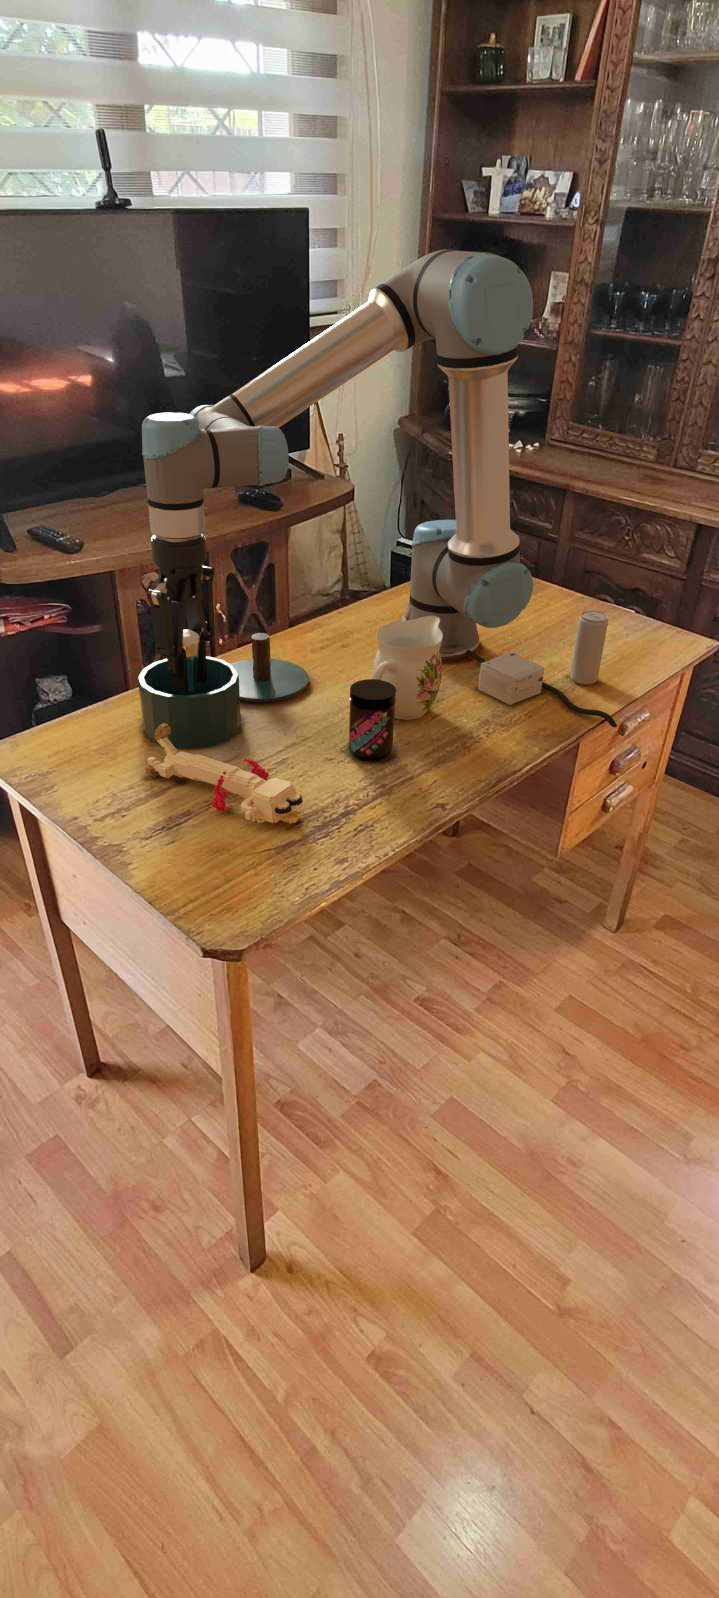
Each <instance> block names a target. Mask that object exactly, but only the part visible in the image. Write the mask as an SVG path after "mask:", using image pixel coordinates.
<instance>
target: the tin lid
mask: <svg viewBox="0 0 719 1598" xmlns="http://www.w3.org/2000/svg"><path fill="white" fill-rule="evenodd" d="M251 655H252V658H250V659H243V660H238V661H235V662H232V663H230V664H231V665H233V666H234V667H235V668H236V670H237V672H238V674H239V691H240V701H246V702H254V703H255V702H256V703H263V702H264V703H266V702H267V703H268V702H275V701H276V702H277V701H281V700H282V701H283V700H286V699H290V698H293V697H295V696H296V695H299V694H300V693H302V692H303V691H305V689H307V687H308V686H309V679H310V677H309V674H308V672H307V671H306V670H305V669H304V668H303V667H302V666H300V665H299V664H296V663H293V662H290V661H288V660H283V659H276V658H271V635H270V634H268V633H267V632H266V633H265V632H256V633H253V634H252V635H251Z"/></svg>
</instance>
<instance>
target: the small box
mask: <svg viewBox="0 0 719 1598" xmlns="http://www.w3.org/2000/svg"><path fill="white" fill-rule="evenodd" d="M544 673H545V666H543V665H541V664H540V663H537V662H534V661H532V660H529V659H528V658H525V657H523V656H521V655H520V654H517V653H515V652H510V653H506V654H504V655H501V656H495V657H493V658H492V659H489V660H486V662H483V663H480V668H479V674H478V675H479V677H478V684H477V689H478V691H481V692H482V693H484V694H486V695H488V696H490V697H492V698H495V699H497V700H499V701H501V702H503V703H504V704H507V705H509V706H512V705H514V704H516V703H519V702H521V701H523V700H527V699H529V698H531V697H534V696H538V695H540V694H541V693H542V682H544V681H543V680H544Z"/></svg>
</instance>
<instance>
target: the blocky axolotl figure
mask: <svg viewBox="0 0 719 1598" xmlns="http://www.w3.org/2000/svg"><path fill="white" fill-rule="evenodd" d="M155 731H156V733H154V734H155V739H157V742H159V743H158V744H159V745H160V747H162V748H163V749H164V750H165V756H164V757H163V762H161V761H160V760H159V759H157V757H155V756H150V757H148V758H146V759H147V766H146V767H145V768H144V769H145V774H146V775H149V777H153V778H156V777H158V776H160V777H163V778H165V779H169V778H171V777H173V776H175V777H178V778H181V779H183V778H186V779H189V780H192V781H195V782H198V781H201V782H204V783H207V784H210V785H213V786H214V788H213V796H214V797H213V798H212V800H211V804H212V808H214V809H215V810H216V812H222V813H224V812H225V813H228V812H229V809H228V808H226V807H227V806H226V805H227V804H226V801H225V799H227V798H228V797H229V795H230V793H232V794H234V795H238V796H241V797H242V798H243V799H244V800H243V801H241V804H240V811H242V812H244V815H245V819H246V820H249V821H250V820H251V821H252V822H257V824H261V823H262V824H263V823H265V822H267V823H271V824H274V823H275V824H277V822H279V821H282V822H285V823H288V824H290V825H291V824H295V823H296V822H298V821H299V816H301V815H304V814H305V810H304V811H303V810H296V809H297V808H296V807H297V806H300V805H301V804H303V797H302V794H300V793H298V792H297V788H296V786H295V785H294V783H293V782H292V781H288V780H285V779H281V778H279V777H271V778H270V779H268V777H269V776H270V775H269V771H266V769H265V768H263V767H262V766H261V764H259V762H257V761H256V760H254V759H253V758H244V759H243V762H244V763H246V762H247V763H248V765H249V766H251V767H252V768H251V769H250V772H249V771H246V770H243V769H242V768H240V767H239V766H237V765H234V764H230V763H227V762H223V761H221V760H217V759H214V758H211V757H207V756H204V755H201V754H198V753H196V754H192V753H190V752H186V751H182V750H181V751H179V750H178V748H175V747H174V746H173V744H171V742H170V741H169V739H168V738H167V737H166V736H167V735H169V734H170V733H171V729H170V727H169V726H168V724H165V723H163V724H161V725H159V727H158V728H157V729H156V730H155ZM157 742H156V743H157ZM222 788H223V789H222ZM251 804H252V805H253V806H251Z"/></svg>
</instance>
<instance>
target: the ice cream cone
mask: <svg viewBox="0 0 719 1598" xmlns="http://www.w3.org/2000/svg"><path fill="white" fill-rule="evenodd" d="M202 631H203V629H202ZM202 631H201V633H202ZM200 636H201V634H200ZM200 636H199V635H198V634H197V633H196V632H194V631H192V630H189V628H185V629H184V628H183V643H182V653H185V654H186V661H187V674H188V687H189V692H191V691H194V690H196V689H197V684H198V655H199V639H200Z"/></svg>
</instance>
